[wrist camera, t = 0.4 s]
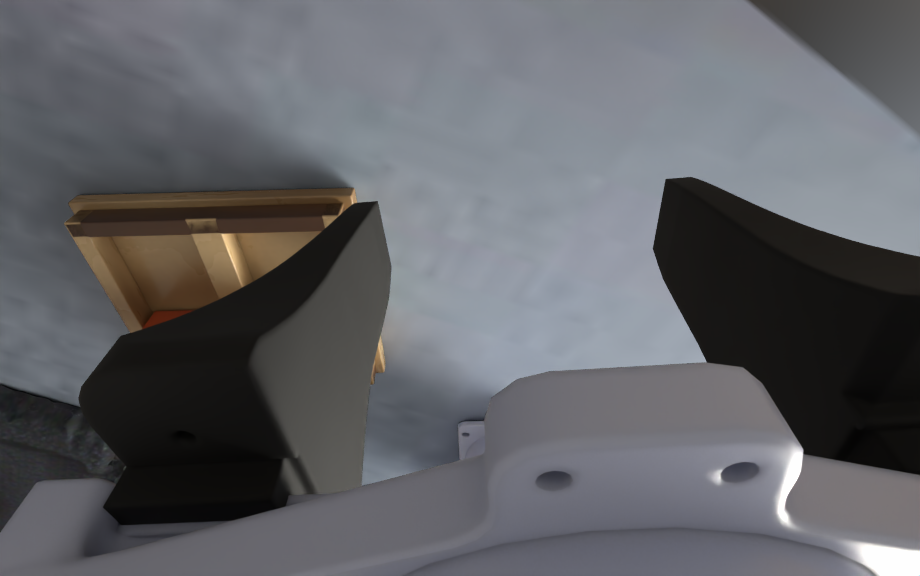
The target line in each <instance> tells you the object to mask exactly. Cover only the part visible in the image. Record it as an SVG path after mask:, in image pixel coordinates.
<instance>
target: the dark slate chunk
mask: <svg viewBox="0 0 920 576" xmlns="http://www.w3.org/2000/svg"><path fill="white" fill-rule="evenodd" d="M126 467H127V466H125V464H124V463H123V462H122V461H121V460H120V459H119V458H118V457H117V455H116V454H115V453H114V452H113V451H112V450H111V449H110V448H109V446H108V445H107V444H106V443H105V442H104V441H103V440H102V439H101V437H100V436H99V435H98V434H97V433H96V432H95V431H94V429H93V428H92V427H91V426H90V424H89V423H88V421H87V420H86V418H85V417H84V415H83V413H82V411H81V408H78V407H74V406H71V405H68V404H65V403H55V402H53V401H50V400H49V399H46V398H42V397H35V396H31V395H29V394H27V393H23V392H19V391H15V390H11V389H8V388H6V387H4V386H1V385H0V532H1V531H2V529H3V528H4V527H5V525H6V524H7V522H8V521H9V520H10V518H11V517H12V516H13V514H14V513H15V511H16V510H17V509H18V507H19V506H20V505H21V503H22V502H23V500H24V499H25V498H26V496H27V495H28V494H29V492H30V491H31V489H32V488H33V487H34V485H35V484H36V483H37V482H40V481H44V480H65V479H86V478H97V479H105V480H108V481H111V482H113V483H115V484H117V482H118V480H119V479H120V477H121V475H122V474H123V472H124V470H125V469H126Z"/></svg>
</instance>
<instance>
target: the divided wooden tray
mask: <svg viewBox="0 0 920 576" xmlns="http://www.w3.org/2000/svg"><path fill="white" fill-rule="evenodd" d="M354 203H357V200H356V195H355V189H354V188H327V189H290V190H254V191H217V192H181V193H144V194H108V195H78V196H76V197H75V198H74V199H72V200H71V201H70V202H69V203H68V204H69V206H70V208H71V209H72V211H73V213H74V215H73V216H72V217H71V218H69V219H68V220H67V221H66V222H65V223H64V225H65V226H66V228H67V229H68V231H69V233H70V234H71V236H72V238H73V239H74V241H75V243H76V244H77V246H78V248H79V249H80V251H81V252H82V254H83V256H84V257H85V259H86V261H87V262H88V264H89V266H90V267H91V269H92V271H93V272H94V274H95V276H96V277H97V279H98V280H99V282H100V284H101V285H102V287H103V289H104V290H105V292H106V294H107V295H108V297H109V299H110V300H111V302H112V304H113V305H114V307H115V308H116V310H117V312H118V313H119V315H120V317H121V318H122V320H123V322H124V323H125V325H126V327H127V328H128V330H129V331H130V333H132V332H135V331H138V330H141V329H142V328H143V327H144V326H145V324H146V323H147V321H148V320H149V319H150V317H151V316H152V315H153V313H154V312H155V311H185V310H196V309H199V308H201V307H203V306H206V305H208V304H210V303H212V302H215V301H217V300H219V299H221V298H223V297H225V296H227V295H229V294H231V293H232V292H234V291H236V290H238V289H240V288H242V287H244V286H246V285H248V284H250V283H251V282H253V281H255V280H257V279H258V278H260V277H262V276H263V275H265V274H266V273H268V272H269V271H271V270H273V269H274V268H276V267H277V266H279V265H280V264H281V263H283V262H284V261H286V260H287V259H288V258H290V257H291V256H292V255H294V254H295V253H296V252H297V251H299V250H300V249H301V248H302V247H304V246H305V245H306V244H307V243H309V242H310V241H311V240H312V239H314V238H315V237H316V236H317V235H318V234H319V233H320V232H322V231H323V230H324V229H325V228H326V227H327V226H328V225H329V224H331V223H332V222H333V221H334V220H335V219H336V218H337V217H338V216H339V215H340V214H342V213H343V212H344V211H345V210H346V209H347V208H348V207H350V206H351V205H352V204H354ZM385 364H386V363H385V357H384V352H383V346H382V340H381V335H380V339H379V344H378V348H377V352H376V356H375V361H374V365H373V371H372V376H371V383H370V385H373V384H374V381H375V376H376V373H383V372H384V370H385Z"/></svg>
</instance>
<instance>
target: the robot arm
mask: <svg viewBox="0 0 920 576" xmlns="http://www.w3.org/2000/svg"><path fill="white" fill-rule="evenodd" d="M653 250H654V253H655V256H656V260H657V263H658V266H659V269H660V271H661V274H662V277H663V280H664V282H665V284H666V285H667V287H668V289H669V291H670V293H671V295H672V297H673V299H674V301H675V302H676V304H677V306H678V308H679V310H680V312H681V313H682V315H683V317H684V319H685V321H686V323H687V324H688V326H689V328H690V330H691V332H692V334H693V335H694V337H695V339H696V341H697V343H698V345H699V347H700V349H701V351H702V353H703V355H704V357H705V359H706V361H707V363H687V364H670V365H652V366H635V367H617V368H600V369H583V370H565V371H549V372H545V373H541V374H536V375H532V376H528V377H524V378H520V379H517V380H515V381H514V382H512V383H511V384H510V385H508V386H507V387H506V388H504V389H503V390H502V391H500V392H499V393H497V394H496V395H495V396H493V397H492V398H491V400H490V403H489V406H488V409H487V412H486V415H485V418H484V421H464V422H461V423H459V424H458V439H459V458H460V460H459V461H455V462H451V463H448V464H444V465H440V466H436V467H433V468H429V469H425V470H421V471H418V472H414V473H410V474H406V475H402V476H399V477H395V478H391V479H387V480H384V481H380V482H376V483H372V484H369V485H365V486H361V483H362V469H363V455H364V442H365V432H366V421H367V410H368V401H369V392H370V383H371V376H372V371H373V365H374V361H375V356H376V352H377V348H378V344H379V339H380V335H381V331H382V327H383V322H384V318H385V314H386V309H387V305H388V300H389V293H390V281H391V262H390V257H389V253H388V248H387V243H386V238H385V234H384V229H383V224H382V219H381V215H380V210H379V205H378V201H375V202H362V203H354V204H352V205H351V206H350V207H348V208H347V209H346V210H345V211H344V212H343V213H342V214H340V215H339V216H338V217H337V218H336V219H335V220H334V221H333V222H332V223H331V224H329V225H328V226H327V227H326V228H325V229H324V230H323V231H322V232H320V233H319V234H318V235H317V236H316V237H315V238H314V239H312V240H311V241H310V242H309V243H307V244H306V245H305V246H304V247H302V248H301V249H300V250H299V251H297V252H296V253H295V254H294V255H292V256H291V257H290V258H288V259H287V260H286V261H284V262H283V263H281V264H280V265H279V266H277V267H276V268H274V269H273V270H271V271H269V272H268V273H266V274H265V275H263V276H262V277H260V278H258V279H257V280H255V281H253V282H251V283H250V284H248V285H246V286H244V287H242V288H240V289H238V290H236V291H234V292H232V293H231V294H229V295H227V296H225V297H223V298H221V299H219V300H217V301H215V302H212V303H210V304H208V305H206V306H203V307H201V308H199V309H196V310H194V311H191V312H189V313H186V314H184V315H182V316H179V317H176V318H174V319H171V320H168V321H165V322H162V323H159V324H156V325H153V326H150V327H147V328H144V329H141V330H138V331H135V332H132V333H129V334H126V335H122V336H120V337H119V339H118V340H117V341H116V343H115V344H114V345H113V346H112V348H111V349H110V350H109V352H108V353H107V354H106V356H105V357H104V358H103V359H102V361H101V362H100V363H99V365H98V366H97V367H96V368H95V370H94V371H93V372H92V374H91V375H90V376H89V377H88V379H87V380H86V381H85V383H84V384H83V385H82V386H81V390H80V394H79V398H78V399H79V403H80V407H81V411H82V413H83V415H84V417H85V418H86V420H87V421H88V423H89V424H90V426H91V427H92V428H93V429H94V431H95V432H96V433H97V434H98V435H99V436H100V437H101V439H102V440H103V441H104V442H105V443H106V444H107V445H108V446H109V448H110V449H111V450H112V451H113V452H114V453H115V454H116V455H117V457H118V458H119V459H120V460H121V461H122V462H123V463H124V464H125V466H127V467H126V469H125V470H124V472H123V474H122V475H121V477H120V479H119V480H118V482H117V484H115V483H113V482H111V481H108V480H105V479H97V478H86V479H65V480H44V481H40V482H37V483H36V484H35V485H34V487H33V488H32V489H31V491H30V492H29V494H28V495H27V496H26V498H25V499H24V500H23V502H22V503H21V505H20V506H19V507H18V509H17V510H16V511H15V513H14V514H13V516H12V517H11V518H10V520H9V521H8V522H7V524H6V525H5V527H4V528H3V529H2V531H1V532H0V576H920V257H919V256H914V255H909V254H904V253H900V252H895V251H891V250H887V249H883V248H879V247H875V246H870V245H866V244H863V243H859V242H856V241H852V240H848V239H845V238H842V237H839V236H836V235H832V234H829V233H826V232H823V231H820V230H817V229H814V228H811V227H808V226H806V225H803V224H800V223H798V222H795V221H793V220H790V219H788V218H785V217H783V216H780V215H778V214H775V213H773V212H771V211H768V210H766V209H764V208H761V207H759V206H757V205H755V204H753V203H750V202H748V201H746V200H744V199H742V198H740V197H737V196H735V195H733V194H731V193H729V192H727V191H725V190H722V189H720V188H718V187H716V186H714V185H711V184H709V183H707V182H704V181H702V180H699V179H696V178H692V177H686V178H673V179H666V181H665V186H664V191H663V197H662V202H661V208H660V213H659V219H658V224H657V229H656V235H655V240H654V246H653Z"/></svg>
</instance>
